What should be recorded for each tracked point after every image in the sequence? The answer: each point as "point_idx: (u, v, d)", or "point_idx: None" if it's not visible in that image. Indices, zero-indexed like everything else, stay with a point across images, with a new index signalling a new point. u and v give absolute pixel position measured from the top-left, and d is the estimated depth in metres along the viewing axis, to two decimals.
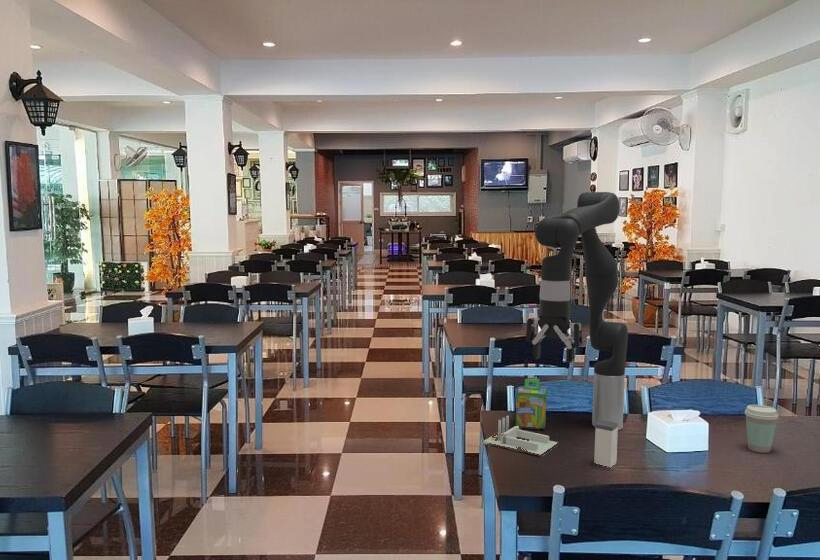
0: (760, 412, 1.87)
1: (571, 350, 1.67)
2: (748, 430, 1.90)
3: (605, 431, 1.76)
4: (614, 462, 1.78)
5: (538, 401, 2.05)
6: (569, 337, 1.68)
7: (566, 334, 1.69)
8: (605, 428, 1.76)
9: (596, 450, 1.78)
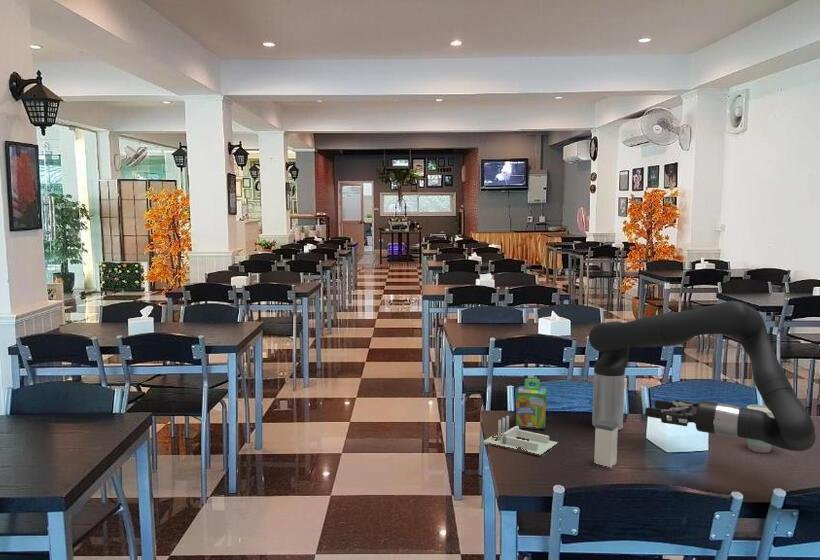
0: None
1: None
2: None
3: (605, 431, 1.76)
4: (614, 462, 1.78)
5: (538, 401, 2.05)
6: None
7: None
8: (605, 428, 1.76)
9: (596, 450, 1.78)
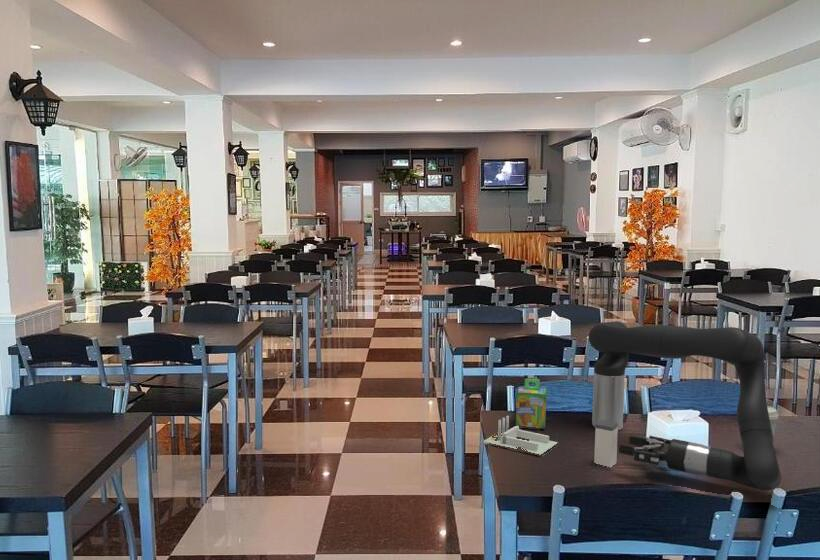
0: None
1: None
2: None
3: (605, 431, 1.76)
4: (614, 462, 1.78)
5: (538, 401, 2.05)
6: None
7: None
8: (605, 428, 1.76)
9: (596, 450, 1.78)
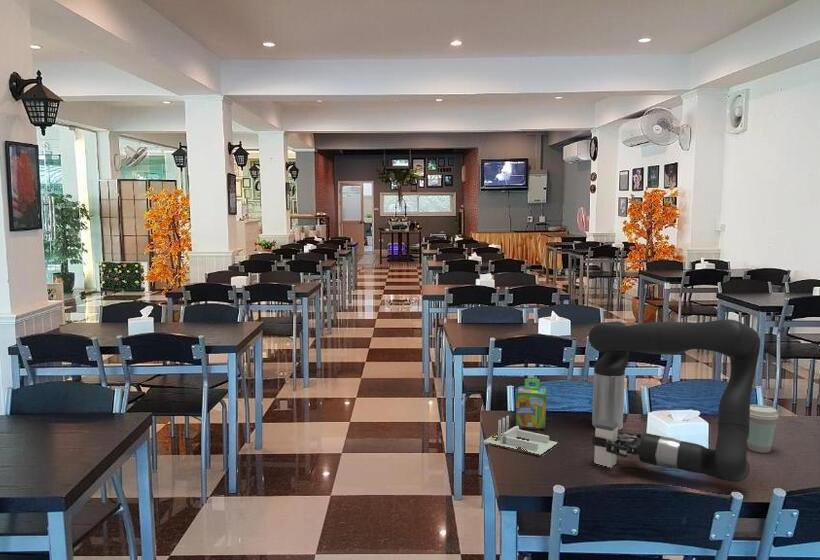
0: (760, 412, 1.87)
1: None
2: None
3: (605, 431, 1.76)
4: (614, 462, 1.78)
5: (538, 401, 2.05)
6: None
7: None
8: (605, 428, 1.76)
9: (596, 450, 1.78)
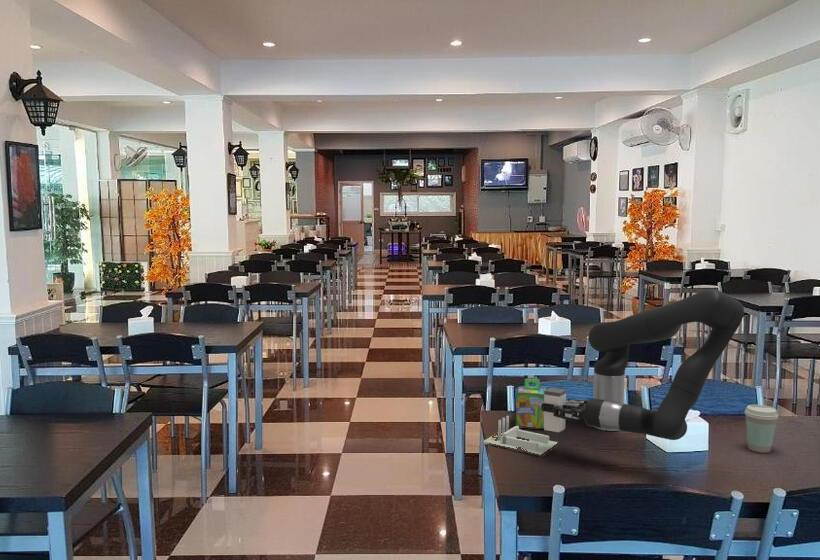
0: (760, 412, 1.87)
1: None
2: (748, 430, 1.90)
3: (553, 397, 1.84)
4: (563, 427, 1.86)
5: (538, 401, 2.05)
6: None
7: None
8: (553, 394, 1.84)
9: (545, 416, 1.85)
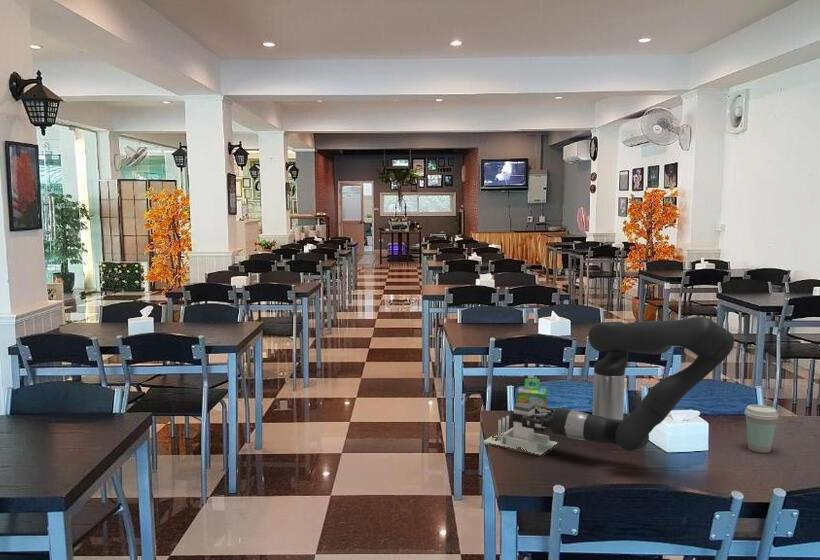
0: (760, 412, 1.87)
1: None
2: (748, 430, 1.90)
3: (522, 412, 1.90)
4: (531, 441, 1.92)
5: (538, 401, 2.05)
6: None
7: None
8: (522, 409, 1.90)
9: (514, 430, 1.91)
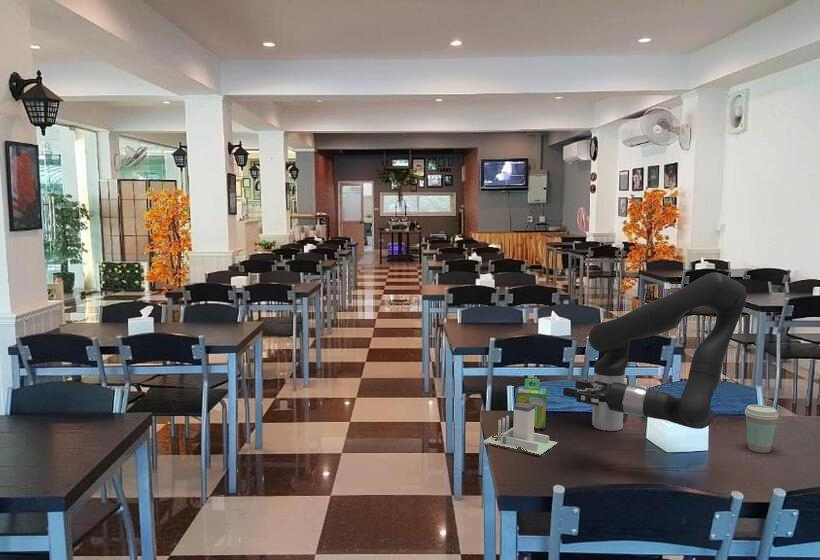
0: (760, 412, 1.87)
1: None
2: (748, 430, 1.90)
3: (522, 412, 1.90)
4: (531, 441, 1.92)
5: (538, 401, 2.05)
6: None
7: None
8: (522, 409, 1.90)
9: (514, 430, 1.91)
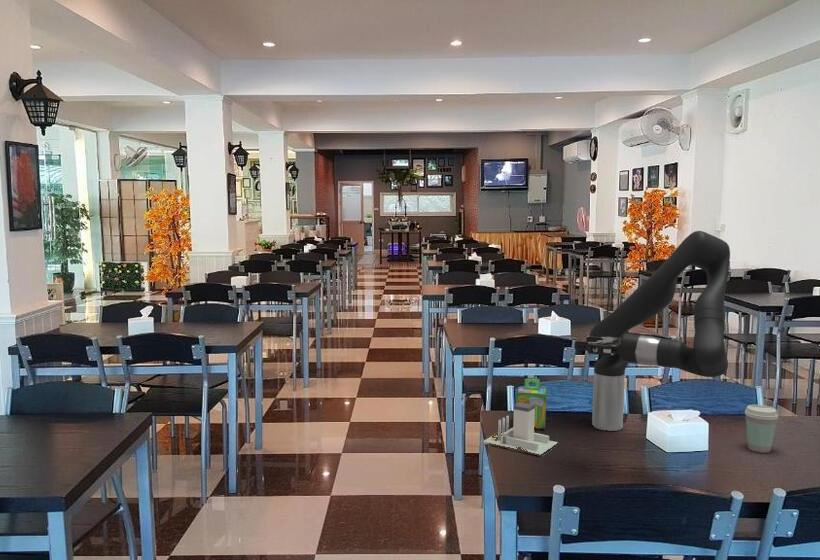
0: (760, 412, 1.87)
1: None
2: (748, 430, 1.90)
3: (522, 412, 1.90)
4: (531, 441, 1.92)
5: (538, 401, 2.05)
6: None
7: (610, 339, 1.79)
8: (522, 409, 1.90)
9: (514, 430, 1.91)
